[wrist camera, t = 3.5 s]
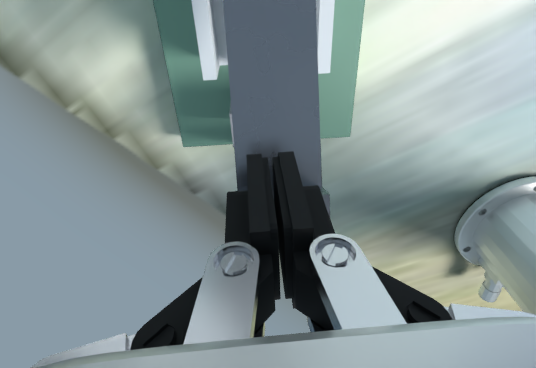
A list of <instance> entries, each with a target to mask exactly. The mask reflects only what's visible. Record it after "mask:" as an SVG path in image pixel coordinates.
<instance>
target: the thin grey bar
mask: <svg viewBox="0 0 536 368" xmlns="http://www.w3.org/2000/svg"><path fill="white" fill-rule="evenodd" d="M223 7H224V20H225V33H226V46H227V59H228V72H229V84H230V97H231V110H232V123H233V136H234V149H235V162H236V175H237V188H238V191H248V184H247V158H246V155H248V154H262V157H268V162H269V169H270V176H271V184H272V191H273V198H274V187H273V163H272V157H276V156H278V152H289V151H293V152H294V155H295V159H296V162H297V166H298V170H299V174H300V177H301V181H302V185H303V186H313V185H318V186H319V188H320V190H321V193H322V196H323V199H324V202H325V205H326V208H327V211H328V214H329V217H330V198H329V194H328V193H327V192H326V191H325V190H324V189H323V188H322V174H321V144H320V113H319V82H318V51H317V20H316V0H223Z"/></svg>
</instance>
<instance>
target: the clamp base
mask: <svg viewBox="0 0 536 368" xmlns="http://www.w3.org/2000/svg"><path fill="white" fill-rule="evenodd" d="M153 3H154V8H155V12H156V17H157V22H158V27H159V32H160V37H161V41H162V46H163V51H164V56H165V61H166V65H167V70H168V75H169V80H170V85H171V89H172V94H173V99H174V104H175V109H176V114H177V118H178V123H179V128H180V133H181V138H182V142H183V147H192V146H208V145H224V144H233V147H234V136H233V123H232V110H231V97H230V84H229V72H228V59H227V46H226V33H225V20H224V7H223V0H153ZM364 5H365V0H316V20H317V51H318V82H319V113H320V138H337V137H350V132H351V123H352V114H353V105H354V96H355V87H356V78H357V69H358V60H359V51H360V42H361V32H362V23H363V14H364Z"/></svg>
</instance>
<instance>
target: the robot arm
mask: <svg viewBox="0 0 536 368" xmlns="http://www.w3.org/2000/svg"><path fill="white" fill-rule="evenodd" d="M246 158H247V184H248V191H235V192H227V206H226V229H225V244H223V245H221V246H219V247H217V248H216V249H215V250H214V251H213V252H212V253H211V254H210V256H209V258H208V261H207V264H206V268H205V271H204V275H203V277H202V278H201V279H200V280H198V281H197V282H196V283H195V284H194V285H192V286H191V287H190V288H189V289H188V290H186V291H185V292H184V293H183V294H181V295H180V296H179V297H178V298H176V299H175V300H174V301H173V302H171V303H170V304H169V305H168V306H167V307H165V308H164V309H163V310H162V311H161V312H159V313H158V314H157V315H156V316H154V317H153V318H152V319H151V320H149V321H148V322H147V323H146V324H145V325H144V326H143V327H142V328H141V329H140V330H139V331H138V332H137V333H136V334H134V335H131V336H128V337H127V335H126V333H124V334H120V335H117V336H114V337H111V338H107V339H104V340H101V341H97V342H94V343H91V344H88V345H84V346H81V347H77V348H74V349H71V350H67V351H64V352H61V353H57V354H54V355H51V356H49V357H46V358H44V359H42V360H40V361H39V362H37V363H36V364H35V365H34V366H32V367H31V368H536V176H534V177H527V178H521V179H517V180H514V181H511V182H508V183H505V184H503V185H501V186H499V187H497V188H495V189H493V190H491V191H490V192H488V193H486V194H485V195H483V196H482V197H481V198H479V199H478V200H477V201H476V202H474V203H473V204H472V205H471V206H470V207H469V208H468V209H467V211H466V212H465V213H464V215H463V216H462V217H461V219H460V221H459V223H458V225H457V227H456V231H455V235H454V236H455V244H456V247H457V249H458V251H459V252H460V254H461V255H462V256H463V257H464V258H465V259H466V260H467V261H469V262H471V263H472V264H475V265H479V266H482V267H483V268H484V270H485V273H484V276H485V278H486V280H485V281H484V282H483V283H482V285H481V287H480V289H479V291H478V292H479V296H480V297H481V298H482V299H483V300H485V301H487V302H494V301H496V299H497V297H498V296H499V294H500V292H501V288H502V287H504V288H505V289H506V290H507V292H508V293H509V294H510V296H511V297H512V298H513V300H514V301H515V302H516V303H517V305H518V306H519V307H520V309H521V310H522V311H523V312H521V311H512V310H503V309H495V308H486V307H477V306H468V305H460V304H450V306H449V307H443V306H442V305H441V304H440V303H439V302H437V301H436V300H434V299H433V298H431V297H429V296H427V295H425V294H423V293H421V292H419V291H417V290H416V289H414V288H412V287H410V286H408V285H406V284H404V283H402V282H400V281H399V280H397V279H395V278H393V277H391V276H389V275H387V274H385V273H383V272H381V271H380V270H378V269H376V268H374V267H372V266H371V265H370V263H369V261H368V260H367V258H366V256H365V255H364V253H363V252H362V250H361V248H360V247H359V246H358V244H357V243H356V242H355V241H354V240H352V239H350V238H349V237H346V236H344V235H340V234H335V232H334V229H333V226H332V223H331V220H330V217H329V214H328V211H327V208H326V205H325V202H324V199H323V196H322V193H321V190H320V188H319V186H318V185H313V186H303V185H302V181H301V177H300V174H299V170H298V166H297V162H296V159H295V155H294V152H293V151H289V152H278V156H276V157H272V163H273V187H274V198H273V191H272V184H271V176H270V169H269V162H268V157H262V154H248V155H246ZM279 254H280V261H281V269H282V276H283V283H284V291H285V298H286V299H288V298H292V303H293V308H296V309H297V310H299V311H300V312H302V313H303V314H304V315H306V316H307V322H308V326H309V329H310V332H309V333H298V334H289V335H277V336H266V337H264V335H265V321H266V320H267V319H268V318H269V317H270V316H271V315H272V313H273V312H274V311H275V300H277V299H280V272H279Z"/></svg>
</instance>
